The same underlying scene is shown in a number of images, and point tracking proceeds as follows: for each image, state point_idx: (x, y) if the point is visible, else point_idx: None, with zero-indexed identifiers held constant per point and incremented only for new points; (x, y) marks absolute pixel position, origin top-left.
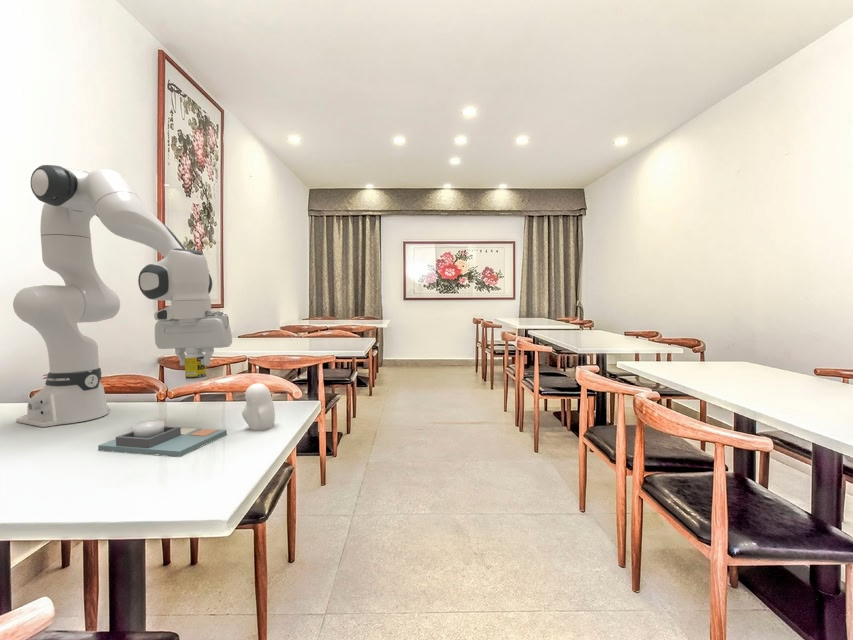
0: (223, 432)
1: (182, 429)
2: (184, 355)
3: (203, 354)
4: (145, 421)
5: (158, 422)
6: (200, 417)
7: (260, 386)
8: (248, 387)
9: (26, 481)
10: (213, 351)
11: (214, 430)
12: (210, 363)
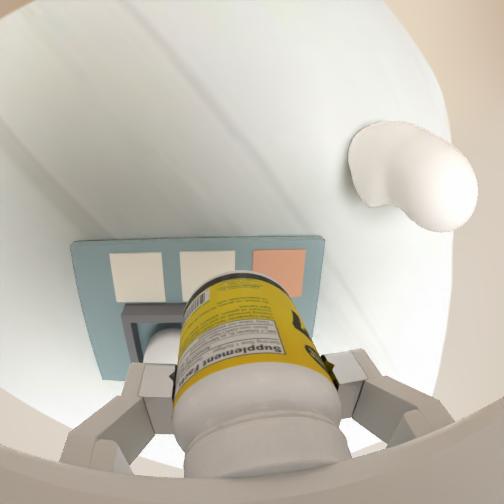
0: (322, 250)
1: (194, 268)
2: (125, 424)
3: (338, 414)
4: (146, 359)
5: None
6: (105, 93)
7: (473, 209)
8: (437, 210)
9: (150, 451)
10: (437, 404)
11: (299, 257)
12: (364, 350)
